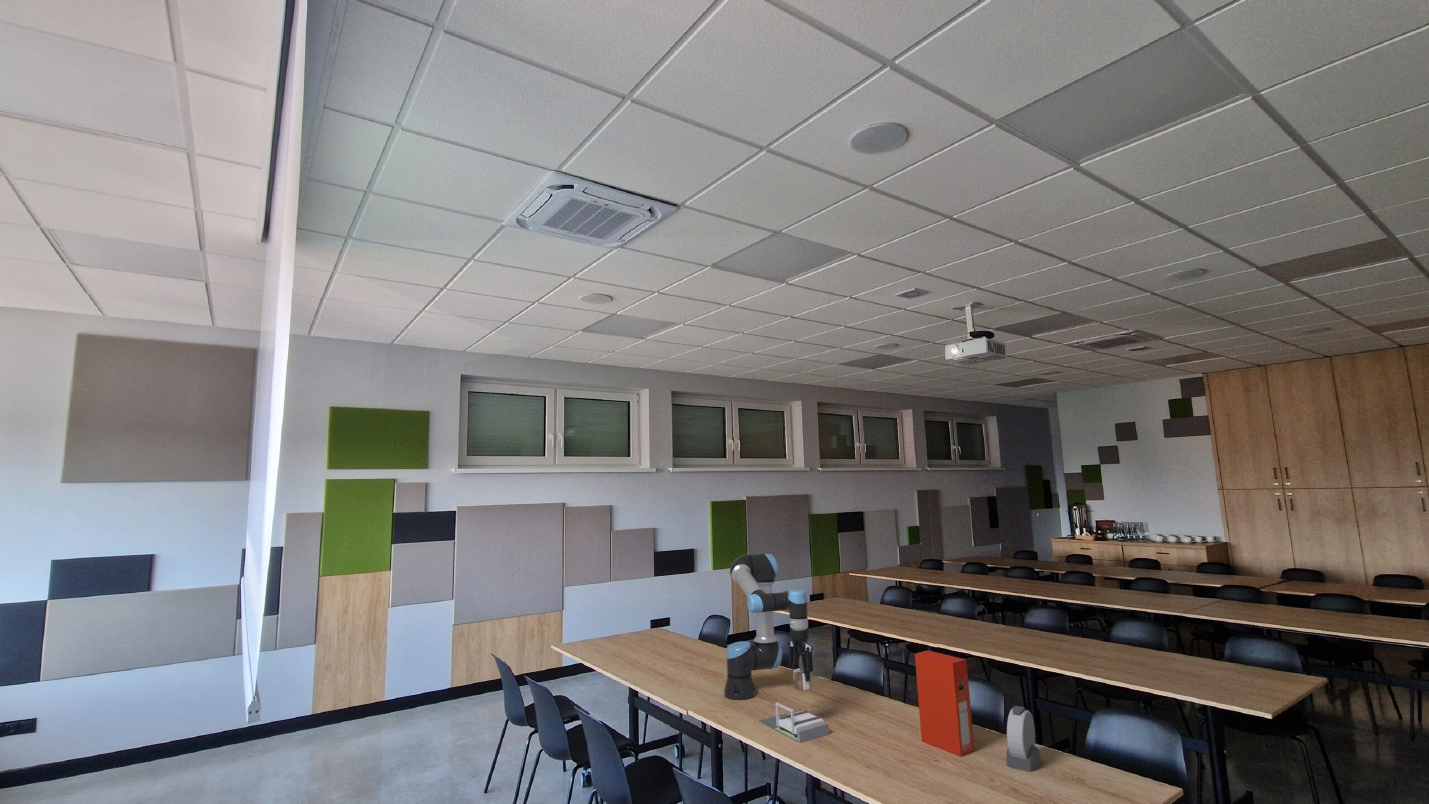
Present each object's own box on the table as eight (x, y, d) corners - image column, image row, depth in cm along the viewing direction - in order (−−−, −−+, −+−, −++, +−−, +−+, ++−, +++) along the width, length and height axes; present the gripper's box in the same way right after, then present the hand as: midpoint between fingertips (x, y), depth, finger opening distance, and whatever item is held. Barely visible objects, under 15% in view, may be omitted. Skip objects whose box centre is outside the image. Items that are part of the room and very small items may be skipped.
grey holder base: (759, 721, 262) (758, 711, 263) (786, 714, 270) (786, 704, 270) (800, 742, 239) (799, 731, 239) (829, 734, 246) (828, 723, 247)
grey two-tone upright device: (1014, 751, 226) (1009, 698, 228) (1045, 758, 219) (1040, 703, 222) (1001, 767, 213) (996, 710, 216) (1034, 775, 207) (1028, 716, 209)
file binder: (960, 757, 222) (952, 662, 227) (921, 741, 237) (914, 653, 241) (974, 751, 226) (966, 659, 231) (935, 736, 241) (928, 649, 245)
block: (793, 687, 257) (792, 672, 258) (803, 685, 260) (802, 670, 261) (801, 690, 253) (800, 675, 254) (810, 688, 256) (810, 673, 257)
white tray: (775, 729, 252) (773, 701, 253) (803, 721, 259) (802, 694, 261) (795, 739, 241) (793, 710, 242) (824, 731, 248) (823, 703, 250)
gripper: (778, 626, 266) (781, 683, 262) (806, 633, 251) (809, 694, 247) (792, 623, 270) (795, 680, 266) (820, 630, 255) (823, 690, 251)
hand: (802, 687), depth 257 cm, fingers closed on block, 5 cm apart
